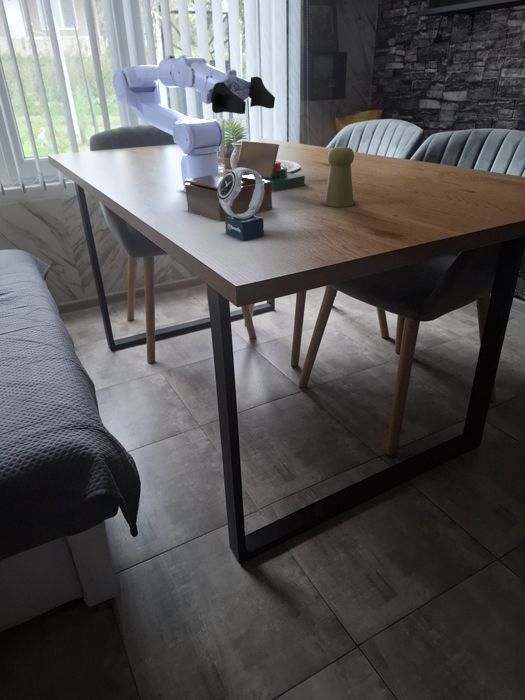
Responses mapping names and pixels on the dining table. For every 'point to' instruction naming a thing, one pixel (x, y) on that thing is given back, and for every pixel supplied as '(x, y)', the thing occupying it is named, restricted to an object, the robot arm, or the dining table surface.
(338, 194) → the olive green tall piece
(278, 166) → the button
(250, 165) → the flap
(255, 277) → the dining table surface
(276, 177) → the button box
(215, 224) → the dining table surface
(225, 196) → the watch
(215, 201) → the carton
